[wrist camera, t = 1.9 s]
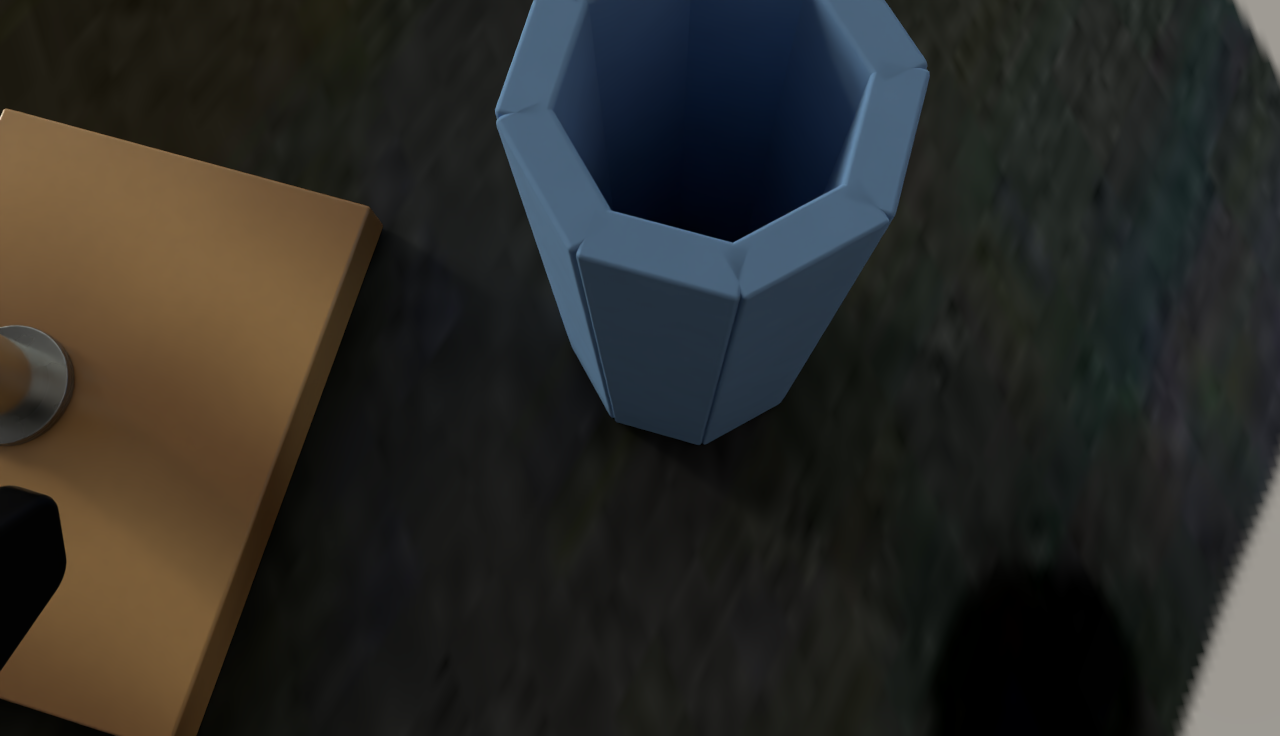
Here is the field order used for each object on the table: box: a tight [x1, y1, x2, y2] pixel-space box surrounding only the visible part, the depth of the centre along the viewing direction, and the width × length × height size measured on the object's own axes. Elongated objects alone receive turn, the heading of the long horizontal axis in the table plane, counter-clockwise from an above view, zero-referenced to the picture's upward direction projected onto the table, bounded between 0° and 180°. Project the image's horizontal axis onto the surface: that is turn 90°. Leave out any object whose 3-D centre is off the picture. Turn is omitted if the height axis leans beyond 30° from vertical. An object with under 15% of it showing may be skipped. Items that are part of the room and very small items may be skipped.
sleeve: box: [495, 0, 930, 445], centre depth 18 cm, size 5×5×11 cm
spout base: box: [0, 109, 383, 736], centre depth 21 cm, size 12×9×4 cm
